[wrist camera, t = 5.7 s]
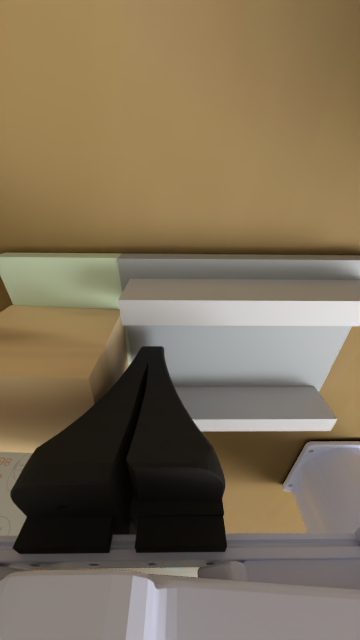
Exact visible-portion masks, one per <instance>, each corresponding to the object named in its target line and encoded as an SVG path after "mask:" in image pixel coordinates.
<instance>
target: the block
mask: <svg viewBox="0 0 360 640" xmlns="http://www.w3.org/2000/svg"><path fill="white" fill-rule="evenodd" d="M127 368H128V357H127V348H126V338H125V328H124V325H122V322H121V315H120V310H112V309H89V308H66V307H44V306H21V305H11V306H9V307H8V308H6V309H5V310H3V311H2V312H0V452H18V453H33V452H34V451H35V449H36V448H37V447H39V446H40V445H42V444H44V443H45V442H46V441H48V440H49V439H51V438H52V437H54V436H55V435H57V434H58V433H60V432H61V431H63V430H64V429H65V428H67V427H68V426H69V425H70V424H72V423H73V422H74V421H76V420H77V419H78V418H79V417H81V416H82V415H83V414H84V413H85V412H87V411H88V410H89V409H90V408H91V407H92V406H93V405H94V404H95V403H97V402H98V401H99V400H100V399H101V398H102V397H103V396H104V395H105V394H106V393H107V392H108V391H109V390H110V389H111V387H112V386H113V385H114V384H115V383H116V382H117V381H118V379H119V378H120V377H121V376H122V375H123V373H124V372H125V371H126V369H127Z"/></svg>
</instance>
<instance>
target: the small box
mask: <svg viewBox="0 0 360 640" xmlns="http://www.w3.org/2000/svg"><path fill="white" fill-rule="evenodd" d="M32 454H33V453H18V452H0V536H18V535H19V532H20V530H21V528H22V526H23V524H24V522H25V520H26V515H25V514H24V513H23V512H22V511H21V510H20V509H19V508H18V507H17V506H16V505H15V504H14V503H13V501H12V499H11V497H10V492H11V490H12V488H13V486H14V484H15V482H16V481H17V479H18V477H19V475H20V473H21V472H22V470H23V468H24V466H25V465H26V463H27V461H28V460H29V458H30V457H31V455H32ZM26 570H27V569H26Z"/></svg>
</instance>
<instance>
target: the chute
mask: <svg viewBox="0 0 360 640" xmlns="http://www.w3.org/2000/svg"><path fill="white" fill-rule="evenodd" d="M0 276H1V278H2V280H3V283H4V285H5V287H6V290H7V292H8V294H9V296H10V299H11V301H12V303H13V305H21V306H44V307H66V308H89V309H112V310H120V315H121V322H122V325H124V328H125V338H126V348H127V357H128V367H129V365H130V364H131V362H132V361H133V360H134V358H135V357H136V355H137V353H138V352H139V350H140V348H141V347H142V346H162V347H164V356H165V361H166V365H167V369H168V372H169V375H170V378H171V380H172V383H173V385H174V387H175V390H176V392H177V394H178V396H179V398H180V400H181V401H182V403H183V405H184V407H185V409H186V410H187V412H188V413H189V415H190V416H191V418H192V420H193V421H194V423H195V424H196V426H197V427H198V428H199V430H200V431H330V430H331V429H332V427H333V426H334V424H335V422H336V421H337V418H336V416H335V415H334V413H333V412H332V411H331V409H330V408H329V406H328V405H327V403H326V402H325V401H324V399H323V398H322V396H321V395H320V394H319V391H320V389H321V387H322V385H323V383H324V381H325V379H326V377H327V375H328V373H329V371H330V369H331V367H332V365H333V363H334V361H335V359H336V357H337V355H338V353H339V351H340V349H341V347H342V345H343V343H344V341H345V339H346V337H347V335H348V333H349V331H350V329H351V327H352V326H360V255H260V254H127V253H3V254H0Z"/></svg>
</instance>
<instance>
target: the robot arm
mask: <svg viewBox="0 0 360 640" xmlns="http://www.w3.org/2000/svg"><path fill="white" fill-rule="evenodd" d="M282 488H283V490H284V491H292V493H293V495H294V498H295V500H296V503H297V506H298V508H299V511H300V513H301V516H302V519H303V521H304V524H305V527H306V529H307V532H308V533H236V534H225V527H224V519H223V515H224V510H223V503H222V497H223V493H224V490H225V479H224V475H223V471H222V468H221V465H220V463H219V460H218V458H217V455H216V453H215V451H214V448H213V447H212V445H211V444H210V443H209V441H208V440H207V439H206V438H205V436H204V435H203V434H202V432H201V431H200V430H199V428H198V427H197V426H196V424H195V423H194V421H193V420H192V418H191V416H190V415H189V413H188V412H187V410H186V409H185V407H184V405H183V403H182V401H181V400H180V398H179V396H178V394H177V392H176V390H175V387H174V385H173V383H172V380H171V378H170V375H169V372H168V369H167V365H166V361H165V356H164V347H162V346H142V347H141V348H140V350H139V352H138V353H137V355H136V357H135V358H134V360H133V361H132V362H131V364H130V365H129V367H128V368H127V369H126V371H125V372H124V373H123V375H122V376H121V377H120V378H119V379H118V381H117V382H116V383H115V384H114V385H113V386H112V387H111V389H110V390H109V391H108V392H107V393H106V394H105V395H104V396H103V397H102V398H101V399H100V400H99V401H98V402H97V403H95V404H94V405H93V406H92V407H91V408H90V409H89V410H88V411H87V412H85V413H84V414H83V415H82V416H81V417H79V418H78V419H77V420H76V421H74V422H73V423H72V424H70V425H69V426H68V427H67V428H65V429H64V430H63V431H61V432H60V433H58V434H57V435H55V436H54V437H52V438H51V439H49V440H48V441H46V442H45V443H44V444H42V445H40V446H39V447H37V448H36V449H35V451H34V452H33V454H32V455H31V457H30V458H29V460H28V461H27V463H26V465H25V466H24V468H23V470H22V472H21V473H20V475H19V477H18V479H17V481H16V482H15V484H14V486H13V488H12V490H11V492H10V497H11V499H12V501H13V503H14V504H15V505H16V506H17V507H18V508H19V509H20V510H21V511H22V512H23V513H24V514H25V515H26V520H25V522H24V524H23V526H22V528H21V530H20V532H19V535H18V536H0V640H360V441H311V442H308V443H306V445H305V446H304V448H303V450H302V452H301V453H300V455H299V457H298V459H297V461H296V462H295V464H294V466H293V468H292V469H291V471H290V473H289V475H288V477H287V478H286V480H285V482H284V484H283V485H282ZM136 531H137V532H136ZM166 567H200V568H199V569H198V578H195V577H182V576H168V575H156V574H145V573H141V572H136V571H129V570H46V571H33V570H26V569H76V568H166Z"/></svg>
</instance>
